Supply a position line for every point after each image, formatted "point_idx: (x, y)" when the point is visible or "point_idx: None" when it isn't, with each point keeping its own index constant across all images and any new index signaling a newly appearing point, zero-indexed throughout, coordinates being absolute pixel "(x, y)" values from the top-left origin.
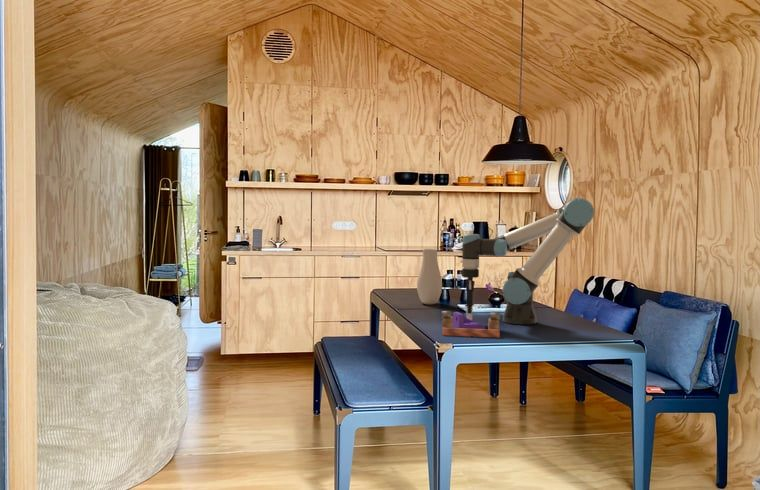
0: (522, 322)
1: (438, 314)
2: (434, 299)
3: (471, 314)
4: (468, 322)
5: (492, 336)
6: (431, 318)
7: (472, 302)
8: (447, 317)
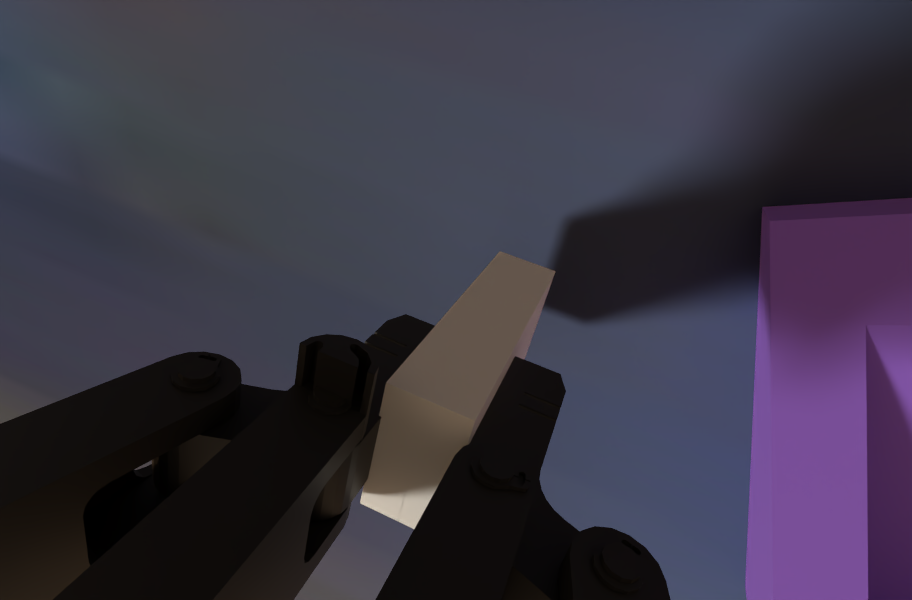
0: None
1: (16, 393)
2: None
3: (526, 334)
4: (873, 469)
5: None
6: None
7: (214, 371)
8: None
